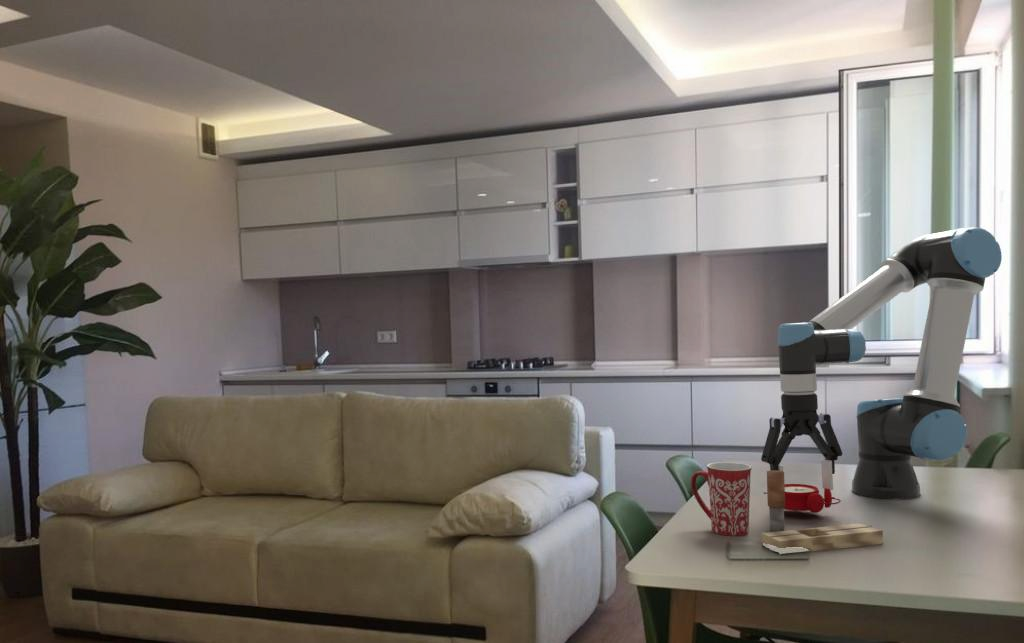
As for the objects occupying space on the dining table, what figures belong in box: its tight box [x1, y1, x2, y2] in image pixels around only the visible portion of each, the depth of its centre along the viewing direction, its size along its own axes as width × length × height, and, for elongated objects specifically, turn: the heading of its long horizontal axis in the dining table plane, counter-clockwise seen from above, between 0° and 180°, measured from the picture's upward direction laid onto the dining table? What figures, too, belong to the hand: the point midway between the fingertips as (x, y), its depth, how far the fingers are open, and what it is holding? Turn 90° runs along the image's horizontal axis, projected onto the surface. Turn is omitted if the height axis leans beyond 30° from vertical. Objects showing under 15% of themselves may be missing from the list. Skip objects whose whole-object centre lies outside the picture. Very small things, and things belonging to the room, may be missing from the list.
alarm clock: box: [763, 483, 842, 514], centre depth 170 cm, size 10×6×15 cm
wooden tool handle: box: [766, 470, 785, 532], centre depth 158 cm, size 3×3×12 cm
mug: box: [690, 461, 752, 537], centre depth 160 cm, size 13×9×14 cm
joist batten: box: [761, 522, 884, 553], centre depth 147 cm, size 22×6×3 cm, turn 104°
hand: (803, 491), depth 170 cm, fingers closed on alarm clock, 11 cm apart
